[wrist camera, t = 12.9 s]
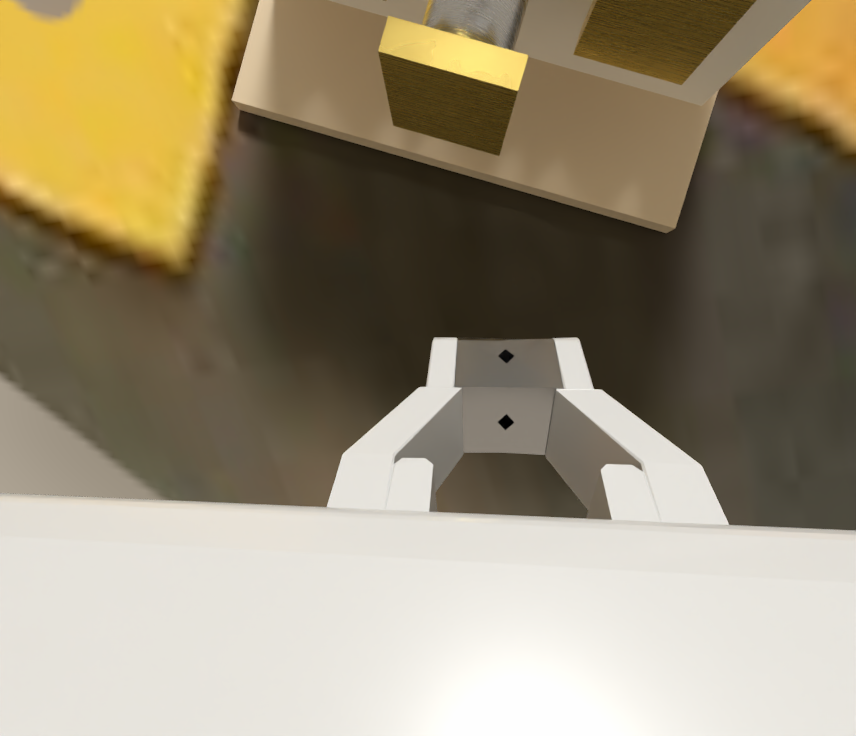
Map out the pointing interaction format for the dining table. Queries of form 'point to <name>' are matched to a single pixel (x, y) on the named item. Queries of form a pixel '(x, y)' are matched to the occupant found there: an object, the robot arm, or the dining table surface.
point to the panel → (533, 110)
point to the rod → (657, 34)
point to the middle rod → (455, 70)
